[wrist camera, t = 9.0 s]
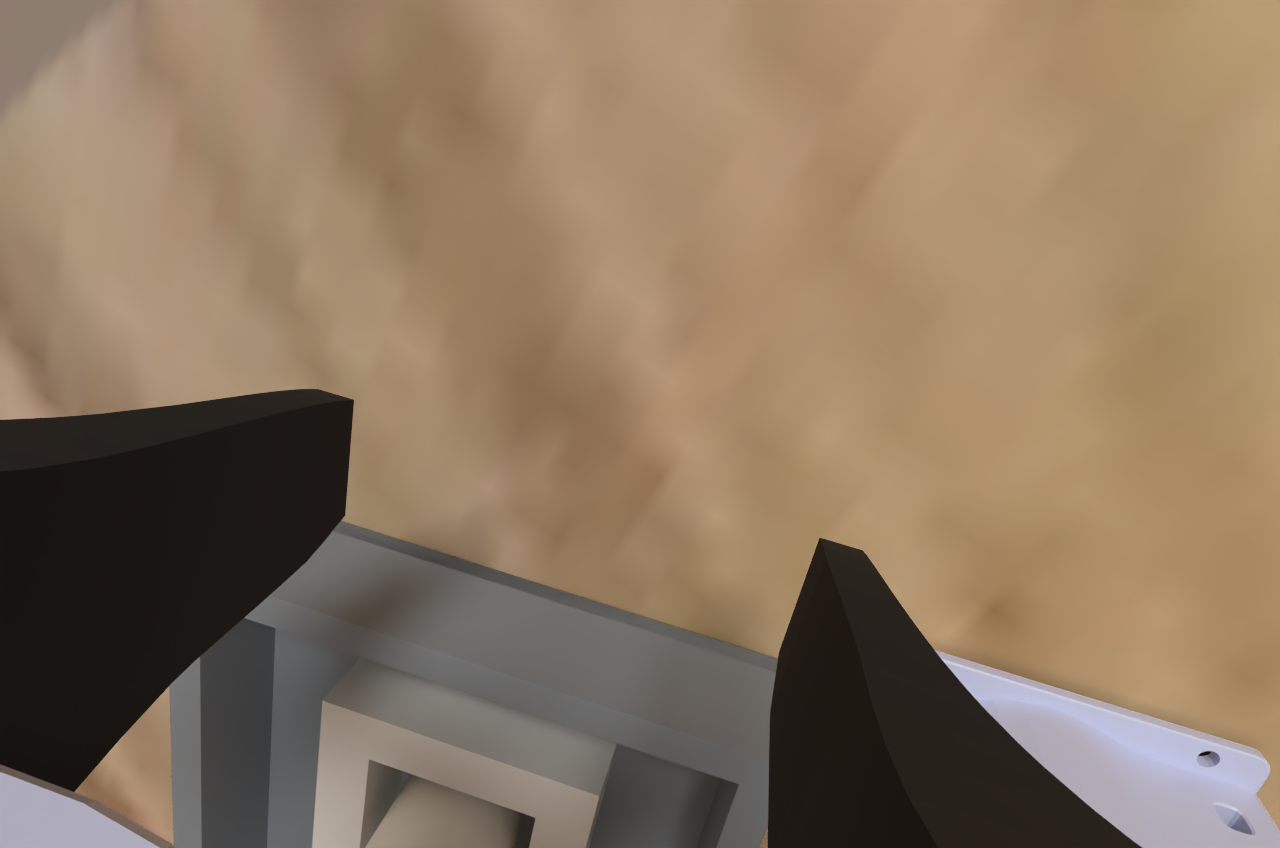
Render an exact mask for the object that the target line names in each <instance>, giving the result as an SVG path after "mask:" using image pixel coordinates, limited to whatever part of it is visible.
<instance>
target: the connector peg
mask: <svg viewBox="0 0 1280 848" xmlns="http://www.w3.org/2000/svg"><path fill="white" fill-rule="evenodd" d="M527 816H528V815H526V814H523V813H520V812H517V811H515V810H512V809H509V808H506V807H503V806H500V805H498V804H495V803H492V802H489V801H486V800H483V799H481V798H478V797H475V796H472V795H469V794H466V793H464V792H461V791H458V790H455V789H452V788H449V787H446V786H444V785H441V784H438V783H435V782H432V781H429V780H427V779H424V778H421V777H418V776H415V775H412V774H411V775H410V777H409V778H408V780H407V782H406V783H405V785H404V786H403V788H402V790H401V791H400V793H399V794H398V796H397V798H396V799H395V801H394V802H393V804H392V806H391V807H390V809H389V810H388V812H387V814H386V815H385V817H384V818H383V820H382V822H381V823H380V825H379V826H378V828H377V830H376V831H375V833H374V834H373V836H372V838H371V839H370V841H369V842H368V844H367V846H366V847H365V848H514V847H515V845H516V843H517V840H518V838H519V835H520V833H521V831H522V828H523V826H524V823H525V821H526V819H527Z"/></svg>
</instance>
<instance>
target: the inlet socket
mask: <svg viewBox="0 0 1280 848" xmlns="http://www.w3.org/2000/svg"><path fill="white" fill-rule="evenodd" d="M617 744H618V743H615V742H612V741H609V740H606V739H603V738H600V737H597V736H594V735H591V734H588V733H585V732H582V731H579V730H576V729H573V728H570V727H567V726H564V725H561V724H558V723H555V722H552V721H549V720H546V719H543V718H540V717H537V716H534V715H531V714H528V713H525V712H523V711H520V710H517V709H514V708H511V707H508V706H505V705H502V704H499V703H496V702H493V701H490V700H487V699H484V698H481V697H478V696H475V695H472V694H469V693H466V692H463V691H460V690H457V689H454V688H451V687H448V686H445V685H442V684H439V683H436V682H433V681H430V680H427V679H424V678H421V677H418V676H416V675H413V674H410V673H407V672H404V671H401V670H398V669H395V668H392V667H389V666H386V665H383V664H380V663H377V662H374V661H371V660H368V659H365V658H362V657H360V658H359V659H358V660H357V661H356V662H355V664H354V665H353V666H352V667H351V668H350V669H349V671H348V672H347V673H346V674H345V675H344V676H343V677H342V679H341V680H340V681H339V682H338V683H337V684H336V686H335V687H334V688H333V689H332V690H331V691H330V692H329V694H328V695H327V696H326V697H325V698H324V699H323V701H322V714H321V728H320V742H319V756H318V770H317V784H316V798H315V812H314V826H313V840H312V848H365V847H366V846H367V844H368V842H369V841H370V839H371V838H372V836H373V834H374V833H375V831H376V830H377V828H378V826H379V825H380V823H381V822H382V820H383V818H384V817H385V815H386V814H387V812H388V810H389V809H390V807H391V806H392V804H393V802H394V801H395V799H396V798H397V796H398V794H399V791H400V783H401V775H402V771H404V772H407V773H410V774H412V775H415V776H418V777H421V778H424V779H427V780H429V781H432V782H435V783H438V784H441V785H444V786H446V787H449V788H452V789H455V790H458V791H461V792H464V793H466V794H469V795H472V796H475V797H478V798H481V799H483V800H486V801H489V802H492V803H495V804H498V805H500V806H503V807H506V808H509V809H512V810H515V811H517V812H520V813H523V814H526V815H529V816H532V817H534V818H535V823H534V827H533V832H532V836H531V840H530V845H529V848H590V844H591V840H592V837H593V833H594V829H595V825H596V822H597V818H598V814H599V811H600V807H601V803H602V799H603V796H604V792H605V788H606V785H607V781H608V777H609V774H610V770H611V766H612V762H613V759H614V755H615V751H616V748H617Z"/></svg>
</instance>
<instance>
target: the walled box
mask: <svg viewBox="0 0 1280 848" xmlns="http://www.w3.org/2000/svg"><path fill="white" fill-rule="evenodd" d="M360 657H362V658H365V659H368V660H371V661H374V662H377V663H380V664H383V665H386V666H389V667H392V668H395V669H398V670H401V671H404V672H407V673H410V674H413V675H416V676H418V677H421V678H424V679H427V680H430V681H433V682H436V683H439V684H442V685H445V686H448V687H451V688H454V689H457V690H460V691H463V692H466V693H469V694H472V695H475V696H478V697H481V698H484V699H487V700H490V701H493V702H496V703H499V704H502V705H505V706H508V707H511V708H514V709H517V710H520V711H523V712H525V713H528V714H531V715H534V716H537V717H540V718H543V719H546V720H549V721H552V722H555V723H558V724H561V725H564V726H567V727H570V728H573V729H576V730H579V731H582V732H585V733H588V734H591V735H594V736H597V737H600V738H603V739H606V740H609V741H612V742H615V743H618V744H617V748H616V751H615V755H614V759H613V762H612V766H611V770H610V774H609V777H608V781H607V785H606V788H605V792H604V796H603V799H602V803H601V807H600V811H599V814H598V818H597V822H596V825H595V829H594V833H593V837H592V840H591V844H590V848H759V846H760V843H761V841H762V838H763V836H764V833H765V831H766V828H767V826H768V797H769V736H770V710H771V703H772V696H773V689H774V682H775V675H776V669H777V663H778V659H776V658H773V657H770V656H767V655H763V654H760V653H757V652H754V651H751V650H748V649H744V648H741V647H738V646H735V645H732V644H729V643H725V642H722V641H719V640H716V639H713V638H710V637H706V636H703V635H700V634H697V633H694V632H691V631H687V630H684V629H681V628H678V627H675V626H672V625H668V624H665V623H662V622H659V621H656V620H653V619H649V618H646V617H643V616H640V615H637V614H634V613H630V612H627V611H624V610H621V609H618V608H615V607H611V606H608V605H605V604H602V603H599V602H596V601H592V600H589V599H586V598H583V597H580V596H577V595H573V594H570V593H567V592H564V591H561V590H558V589H554V588H551V587H548V586H545V585H542V584H539V583H535V582H532V581H529V580H526V579H523V578H520V577H516V576H513V575H510V574H507V573H504V572H501V571H497V570H494V569H491V568H488V567H485V566H482V565H478V564H475V563H472V562H469V561H466V560H463V559H459V558H456V557H453V556H450V555H447V554H444V553H440V552H437V551H434V550H431V549H428V548H425V547H421V546H418V545H415V544H412V543H409V542H406V541H402V540H399V539H396V538H393V537H390V536H387V535H383V534H380V533H377V532H374V531H371V530H368V529H364V528H361V527H358V526H355V525H352V524H349V523H345V522H342V521H340V522H339V524H338V525H337V526H336V527H335V529H334V530H333V531H332V532H331V534H330V535H329V536H328V537H327V539H326V540H325V541H324V542H323V544H322V545H321V546H320V547H319V548H318V549H317V550H316V552H315V553H314V554H313V555H312V556H311V557H310V558H309V560H308V561H307V562H306V563H305V564H304V565H303V566H302V567H300V568H299V569H298V570H297V571H296V572H295V573H294V574H293V575H292V576H291V577H290V578H288V579H287V580H286V581H285V582H284V583H283V584H282V585H281V586H280V587H278V588H277V589H276V590H275V591H274V592H273V593H272V594H271V595H270V596H268V597H267V598H266V599H265V600H264V601H263V602H262V603H260V604H259V605H258V606H257V607H256V608H255V609H254V610H252V611H251V612H250V613H249V614H248V615H247V616H246V617H245V618H243V619H242V620H241V621H240V622H239V623H238V624H237V625H235V626H234V627H233V628H232V629H231V630H230V631H229V632H227V633H226V634H225V635H224V636H223V637H222V638H221V639H219V640H218V641H217V642H216V643H215V644H214V645H213V646H211V647H210V648H209V649H208V650H207V651H206V652H205V653H204V654H202V655H201V656H200V657H199V658H198V659H197V660H196V661H194V662H193V663H192V664H191V665H190V666H189V667H188V668H187V669H186V670H185V671H184V672H183V673H182V674H181V675H180V676H179V677H178V678H177V679H176V680H175V681H174V682H173V683H171V684H170V685H169V688H170V725H171V761H172V798H173V834H174V847H175V848H312V840H313V826H314V812H315V798H316V784H317V770H318V756H319V742H320V728H321V714H322V701H323V699H324V698H325V697H326V696H327V695H328V694H329V692H330V691H331V690H332V689H333V688H334V687H335V686H336V684H337V683H338V682H339V681H340V680H341V679H342V677H343V676H344V675H345V674H346V673H347V672H348V671H349V669H350V668H351V667H352V666H353V665H354V664H355V662H356V661H357V660H358V659H359V658H360ZM410 775H411V774H410V773H407V772H404V771H402V775H401V783H400V791H401V790H402V788H403V786H404V785H405V783H406V782H407V780H408V778H409V777H410ZM400 791H399V793H400ZM534 823H535V818H534V817H532V816H529V815H528V816H527V819H526V821H525V823H524V826H523V828H522V831H521V833H520V835H519V838H518V840H517V843H516V845H515V847H514V848H529V845H530V840H531V836H532V832H533V827H534Z"/></svg>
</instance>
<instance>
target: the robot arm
mask: <svg viewBox="0 0 1280 848" xmlns="http://www.w3.org/2000/svg"><path fill="white" fill-rule="evenodd" d="M353 404H354V400H352V399H349V398H345V397H342V396H339V395H335V394H332V393H329V392H325V391H322V390H318V389H298V390H285V391H276V392H267V393H259V394H252V395H244V396H237V397H230V398H223V399H216V400H209V401H202V402H195V403H188V404H181V405H173V406H164V407H156V408H147V409H138V410H130V411H121V412H113V413H104V414H94V415H82V416H69V417H55V418H34V419H13V420H0V848H175V847H174V846H173V845H172V844H171V843H170V842H168V841H166V840H164V839H163V838H161V837H159V836H157V835H156V834H154V833H152V832H151V831H149V830H147V829H145V828H144V827H142V826H140V825H139V824H137V823H135V822H133V821H132V820H130V819H128V818H127V817H125V816H123V815H121V814H120V813H118V812H116V811H115V810H113V809H111V808H109V807H108V806H106V805H104V804H103V803H101V802H99V801H96V800H94V799H91V798H88V797H86V796H83V795H80V794H78V793H75V792H74V791H75V790H76V789H77V788H78V787H79V786H80V784H81V783H82V782H83V781H84V780H85V779H86V778H87V776H88V775H89V774H90V773H91V772H92V771H93V769H94V768H95V767H96V766H97V765H98V764H99V763H100V761H101V760H102V759H103V758H104V757H105V756H106V754H107V753H108V752H109V751H110V750H111V749H112V748H113V746H114V745H115V744H116V743H117V742H118V741H119V739H120V738H121V737H122V736H123V735H124V734H125V733H126V732H127V731H128V730H129V729H130V728H131V727H132V725H133V724H134V723H135V722H136V721H137V720H138V719H139V718H140V717H141V716H142V715H143V714H144V712H145V711H146V710H147V709H148V708H149V707H150V706H151V705H152V704H153V703H154V702H155V701H156V699H157V698H158V697H159V696H160V695H161V694H162V693H163V692H164V691H165V690H166V689H167V688H168V687H169V685H170V684H171V683H173V682H174V681H175V680H176V679H177V678H178V677H179V676H180V675H181V674H182V673H183V672H184V671H185V670H186V669H187V668H188V667H189V666H190V665H191V664H192V663H193V662H194V661H196V660H197V659H198V658H199V657H200V656H201V655H202V654H204V653H205V652H206V651H207V650H208V649H209V648H210V647H211V646H213V645H214V644H215V643H216V642H217V641H218V640H219V639H221V638H222V637H223V636H224V635H225V634H226V633H227V632H229V631H230V630H231V629H232V628H233V627H234V626H235V625H237V624H238V623H239V622H240V621H241V620H242V619H243V618H245V617H246V616H247V615H248V614H249V613H250V612H251V611H252V610H254V609H255V608H256V607H257V606H258V605H259V604H260V603H262V602H263V601H264V600H265V599H266V598H267V597H268V596H270V595H271V594H272V593H273V592H274V591H275V590H276V589H277V588H278V587H280V586H281V585H282V584H283V583H284V582H285V581H286V580H287V579H288V578H290V577H291V576H292V575H293V574H294V573H295V572H296V571H297V570H298V569H299V568H300V567H302V566H303V565H304V564H305V563H306V562H307V561H308V560H309V558H310V557H311V556H312V555H313V554H314V553H315V552H316V550H317V549H318V548H319V547H320V546H321V545H322V544H323V542H324V541H325V540H326V539H327V537H328V536H329V535H330V534H331V532H332V531H333V530H334V529H335V527H336V526H337V525H338V524H339V522H340V521H341V520H342V519H343V517H344V516H345V509H346V496H347V483H348V470H349V457H350V443H351V430H352V417H353ZM1205 751H1212V752H1211V753H1210V754H1209V755H1205V756H1198V755H1199V754H1200V753H1202V752H1205ZM1270 771H1271V770H1270V765H1269V763H1268V762H1267V761H1266V759H1265V758H1264V756H1263V755H1262V754H1261V753H1260V752H1259V751H1258V750H1256V749H1254V748H1252V747H1248V746H1245V745H1242V744H1239V743H1235V742H1232V741H1229V740H1226V739H1222V738H1219V737H1216V736H1213V735H1209V734H1206V733H1203V732H1200V731H1196V730H1193V729H1190V728H1187V727H1183V726H1180V725H1177V724H1174V723H1170V722H1167V721H1164V720H1161V719H1157V718H1154V717H1151V716H1148V715H1144V714H1141V713H1138V712H1135V711H1131V710H1128V709H1125V708H1122V707H1118V706H1115V705H1112V704H1109V703H1105V702H1102V701H1099V700H1095V699H1092V698H1089V697H1086V696H1082V695H1079V694H1076V693H1073V692H1069V691H1066V690H1063V689H1060V688H1056V687H1053V686H1050V685H1047V684H1043V683H1040V682H1037V681H1034V680H1030V679H1027V678H1024V677H1021V676H1017V675H1014V674H1011V673H1008V672H1004V671H1001V670H998V669H995V668H991V667H988V666H985V665H982V664H978V663H975V662H972V661H969V660H965V659H962V658H959V657H956V656H952V655H949V654H946V653H943V652H939V651H936V650H934V649H933V648H932V646H931V645H930V644H929V643H928V641H927V640H926V639H925V637H924V636H923V635H922V633H921V632H920V631H919V629H918V628H917V627H916V625H915V624H914V622H913V621H912V620H911V618H910V617H909V616H908V614H907V613H906V611H905V610H904V609H903V607H902V606H901V604H900V603H899V601H898V600H897V599H896V597H895V596H894V594H893V593H892V591H891V590H890V588H889V587H888V585H887V584H886V583H885V581H884V580H883V578H882V577H881V575H880V574H879V572H878V571H877V569H876V568H875V566H874V565H873V564H872V562H871V561H870V559H869V558H868V557H867V555H866V554H865V553H864V552H863V550H859V549H856V548H853V547H849V546H846V545H842V544H839V543H836V542H832V541H829V540H826V539H822V538H820V539H819V541H818V544H817V547H816V550H815V553H814V556H813V558H812V561H811V564H810V567H809V570H808V572H807V575H806V578H805V581H804V584H803V586H802V589H801V592H800V595H799V598H798V601H797V603H796V606H795V609H794V612H793V615H792V617H791V620H790V623H789V626H788V629H787V632H786V634H785V637H784V640H783V643H782V646H781V648H780V651H779V656H778V663H777V669H776V675H775V682H774V689H773V696H772V703H771V710H770V736H769V797H768V848H1280V830H1279V829H1278V827H1277V826H1276V824H1275V822H1274V821H1273V819H1272V818H1271V816H1270V815H1269V813H1268V812H1267V810H1266V809H1265V807H1264V806H1263V804H1262V803H1261V801H1260V799H1259V798H1258V796H1257V795H1256V793H1257V792H1258V790H1259V789H1260V787H1261V786H1262V785H1263V783H1264V782H1265V780H1266V779H1267V778H1268V776H1269V773H1270Z"/></svg>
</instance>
